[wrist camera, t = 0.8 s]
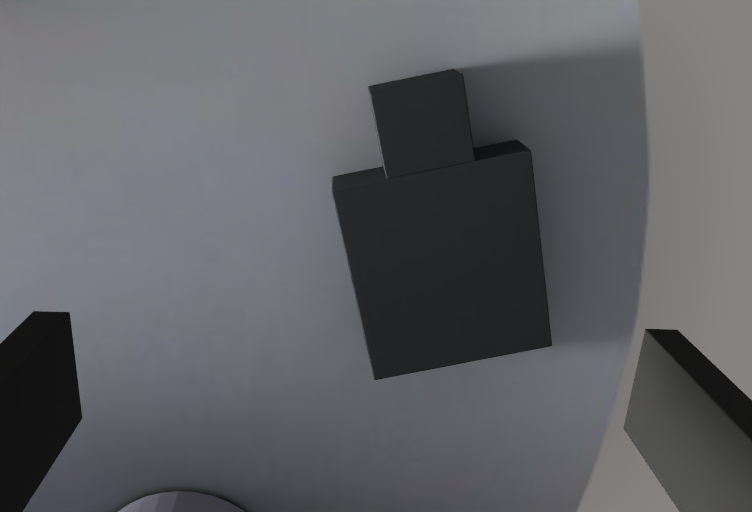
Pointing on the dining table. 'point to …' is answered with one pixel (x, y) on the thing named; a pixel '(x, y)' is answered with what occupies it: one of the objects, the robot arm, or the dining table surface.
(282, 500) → the dining table surface
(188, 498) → the container
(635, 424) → the robot arm
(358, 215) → the pad
